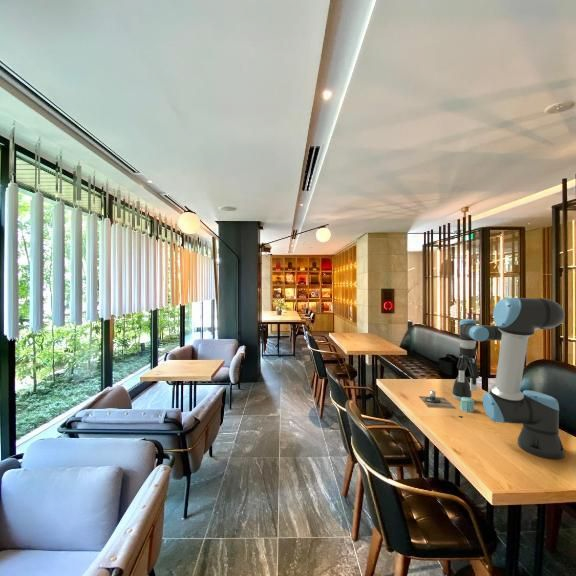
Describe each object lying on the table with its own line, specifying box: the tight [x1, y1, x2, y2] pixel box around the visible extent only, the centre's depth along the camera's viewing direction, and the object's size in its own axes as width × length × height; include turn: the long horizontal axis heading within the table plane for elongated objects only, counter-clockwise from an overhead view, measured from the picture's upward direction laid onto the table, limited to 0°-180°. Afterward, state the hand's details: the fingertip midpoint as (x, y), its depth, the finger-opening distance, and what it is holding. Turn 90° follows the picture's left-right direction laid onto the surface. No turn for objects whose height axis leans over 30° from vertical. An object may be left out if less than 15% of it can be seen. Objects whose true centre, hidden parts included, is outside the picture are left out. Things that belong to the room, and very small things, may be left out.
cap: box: [460, 397, 475, 413], centre depth 167 cm, size 6×6×7 cm
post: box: [425, 390, 440, 403], centre depth 181 cm, size 8×8×6 cm
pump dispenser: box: [451, 375, 472, 402], centre depth 185 cm, size 10×10×15 cm
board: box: [418, 395, 457, 410], centre depth 179 cm, size 18×15×1 cm
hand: (467, 386), depth 168 cm, fingers open, 13 cm apart
